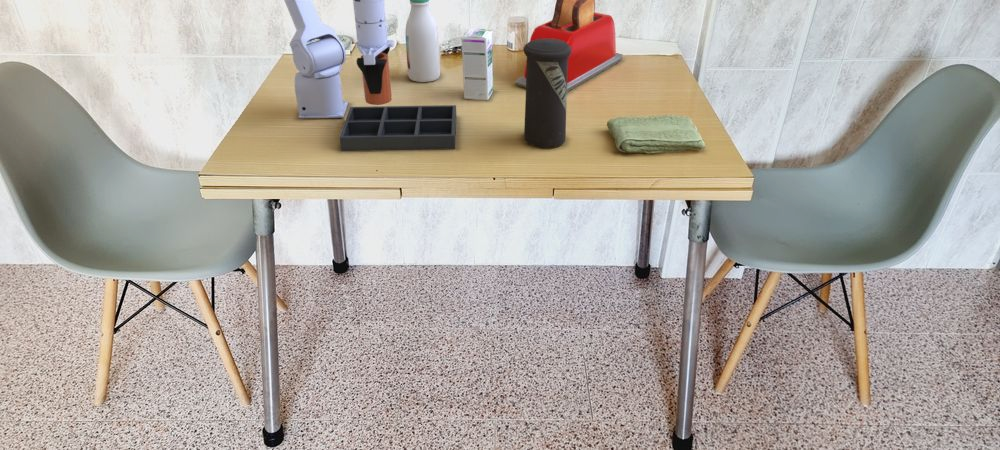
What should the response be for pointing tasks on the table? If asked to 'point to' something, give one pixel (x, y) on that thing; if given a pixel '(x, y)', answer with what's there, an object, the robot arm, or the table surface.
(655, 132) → the washcloth
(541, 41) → the container
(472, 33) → the syrup box
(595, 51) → the toaster
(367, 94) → the jar
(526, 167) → the table surface
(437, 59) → the milk bottle
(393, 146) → the tray
